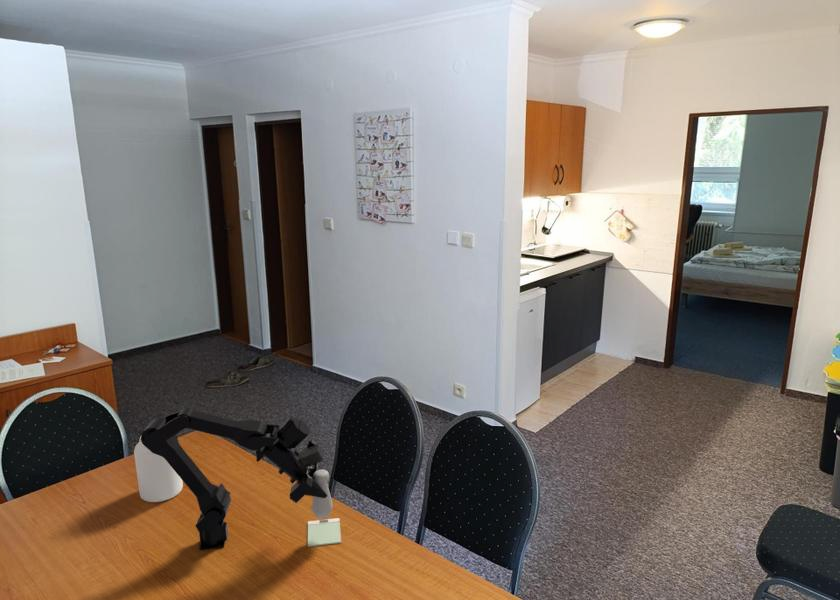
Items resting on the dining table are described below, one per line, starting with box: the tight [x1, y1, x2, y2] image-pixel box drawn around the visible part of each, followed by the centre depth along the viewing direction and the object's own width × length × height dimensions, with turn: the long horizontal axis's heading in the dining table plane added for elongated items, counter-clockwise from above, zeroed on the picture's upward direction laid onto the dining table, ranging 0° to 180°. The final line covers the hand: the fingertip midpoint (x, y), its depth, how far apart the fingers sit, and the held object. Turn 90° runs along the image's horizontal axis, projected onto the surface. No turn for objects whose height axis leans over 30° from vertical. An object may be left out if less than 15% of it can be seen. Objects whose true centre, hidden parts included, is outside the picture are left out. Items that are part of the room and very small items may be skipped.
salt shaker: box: [311, 469, 334, 519], centre depth 157 cm, size 6×6×13 cm
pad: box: [307, 517, 342, 548], centre depth 161 cm, size 9×11×1 cm
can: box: [133, 436, 184, 503], centre depth 178 cm, size 12×12×20 cm
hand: (326, 492), depth 157 cm, fingers closed on salt shaker, 3 cm apart
